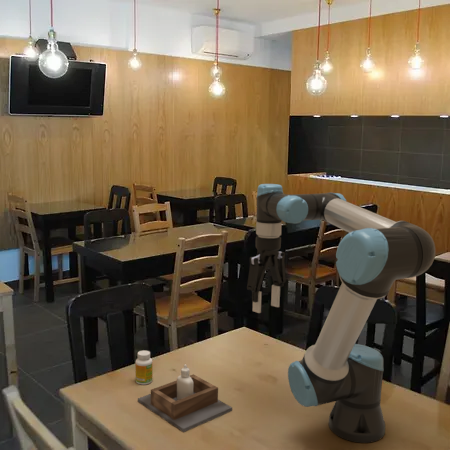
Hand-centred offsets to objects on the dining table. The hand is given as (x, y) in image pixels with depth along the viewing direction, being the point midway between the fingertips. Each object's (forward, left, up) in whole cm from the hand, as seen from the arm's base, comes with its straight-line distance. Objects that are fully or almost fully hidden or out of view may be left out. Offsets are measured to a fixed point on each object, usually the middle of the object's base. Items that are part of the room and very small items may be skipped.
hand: (266, 308), depth 170 cm
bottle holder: (+8, +25, -27) cm, 37 cm away
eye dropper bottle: (+8, +25, -26) cm, 37 cm away
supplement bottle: (+29, +25, -27) cm, 47 cm away
